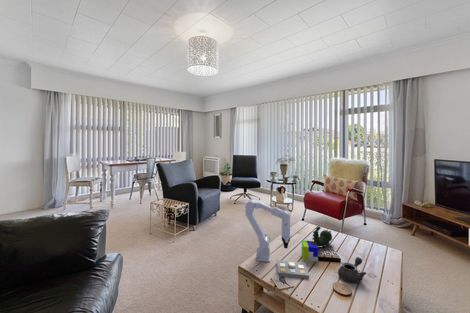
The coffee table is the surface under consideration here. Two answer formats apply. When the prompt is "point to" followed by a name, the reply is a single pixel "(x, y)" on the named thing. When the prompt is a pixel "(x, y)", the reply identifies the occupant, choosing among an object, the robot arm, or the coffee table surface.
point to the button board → (292, 270)
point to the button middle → (291, 265)
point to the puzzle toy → (309, 250)
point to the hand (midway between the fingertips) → (285, 247)
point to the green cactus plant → (322, 237)
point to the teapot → (351, 271)
